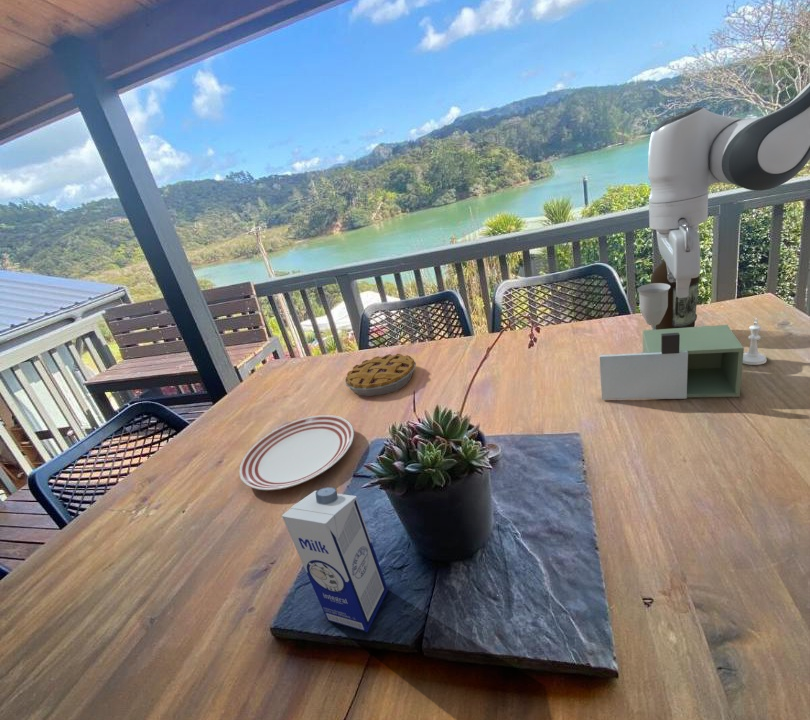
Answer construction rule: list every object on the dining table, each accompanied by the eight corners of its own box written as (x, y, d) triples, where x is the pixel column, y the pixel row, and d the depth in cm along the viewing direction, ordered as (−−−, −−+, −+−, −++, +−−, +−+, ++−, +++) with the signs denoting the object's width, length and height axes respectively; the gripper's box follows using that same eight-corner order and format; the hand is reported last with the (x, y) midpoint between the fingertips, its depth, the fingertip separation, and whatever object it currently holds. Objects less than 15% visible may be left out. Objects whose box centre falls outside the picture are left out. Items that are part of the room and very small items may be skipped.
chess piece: (736, 363, 98) (739, 322, 94) (740, 354, 101) (743, 314, 97) (764, 366, 94) (769, 323, 91) (768, 356, 98) (772, 315, 94)
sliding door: (686, 399, 90) (688, 334, 84) (601, 400, 96) (598, 339, 91) (685, 396, 91) (687, 331, 85) (601, 397, 97) (598, 337, 92)
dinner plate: (320, 503, 86) (315, 490, 85) (218, 494, 97) (212, 482, 96) (375, 425, 109) (371, 414, 108) (287, 425, 120) (283, 415, 119)
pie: (404, 397, 119) (400, 381, 117) (336, 400, 127) (331, 385, 126) (426, 362, 138) (423, 348, 136) (365, 366, 146) (361, 353, 144)
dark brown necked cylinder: (641, 334, 122) (640, 245, 112) (675, 324, 123) (677, 235, 113) (670, 346, 112) (672, 249, 102) (707, 334, 113) (711, 238, 103)
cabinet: (739, 396, 87) (744, 348, 83) (648, 397, 94) (648, 352, 89) (724, 369, 97) (727, 324, 93) (643, 372, 104) (642, 330, 99)
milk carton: (326, 620, 62) (279, 514, 55) (349, 580, 68) (310, 479, 60) (368, 632, 59) (325, 522, 52) (389, 589, 65) (353, 484, 57)
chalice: (644, 349, 113) (643, 282, 107) (673, 352, 109) (674, 283, 102) (633, 361, 109) (632, 292, 102) (663, 365, 104) (664, 293, 97)
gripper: (712, 220, 67) (710, 305, 72) (687, 202, 84) (687, 271, 89) (665, 228, 70) (666, 309, 75) (650, 209, 87) (651, 276, 92)
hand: (677, 288), depth 82 cm, fingers open, 8 cm apart
